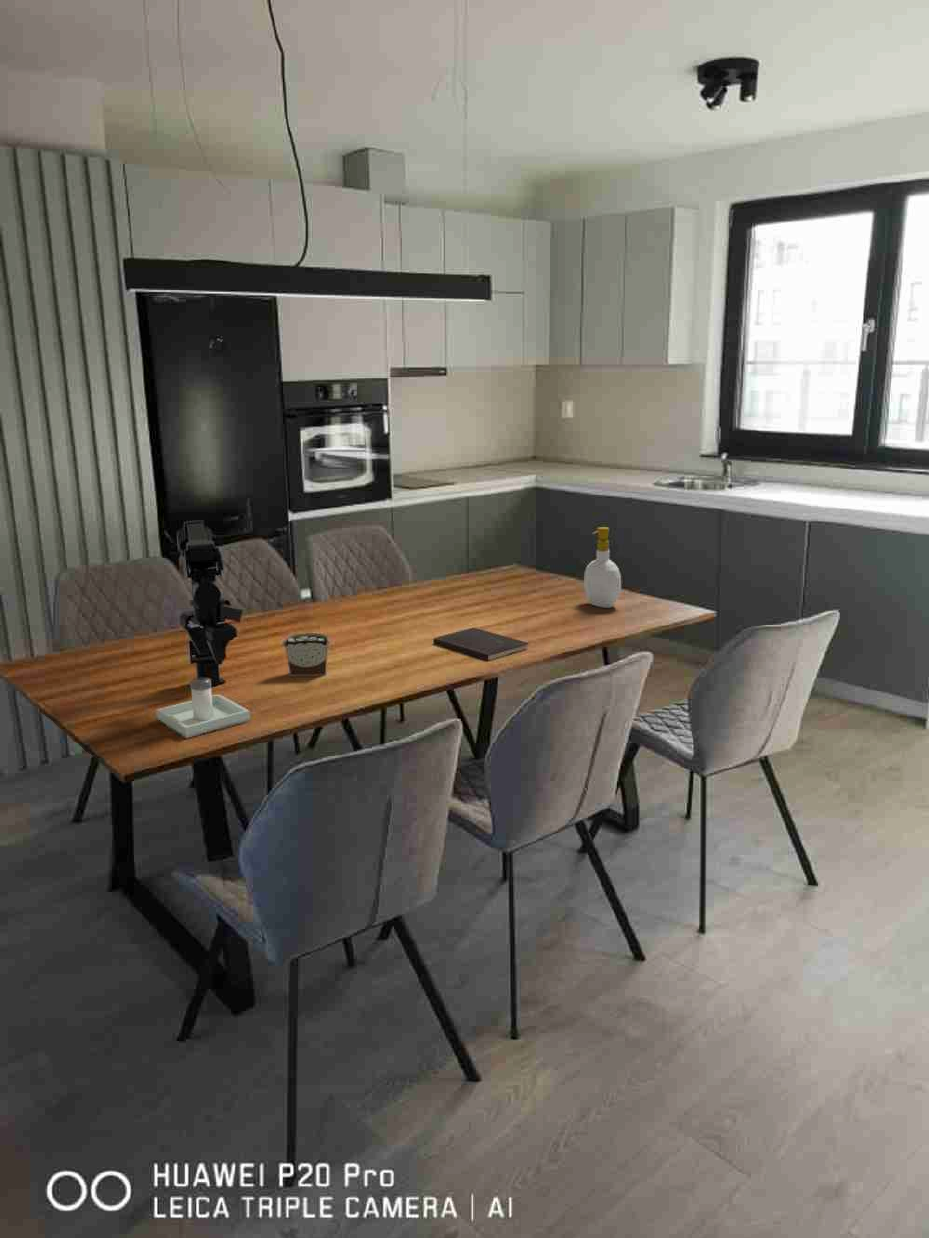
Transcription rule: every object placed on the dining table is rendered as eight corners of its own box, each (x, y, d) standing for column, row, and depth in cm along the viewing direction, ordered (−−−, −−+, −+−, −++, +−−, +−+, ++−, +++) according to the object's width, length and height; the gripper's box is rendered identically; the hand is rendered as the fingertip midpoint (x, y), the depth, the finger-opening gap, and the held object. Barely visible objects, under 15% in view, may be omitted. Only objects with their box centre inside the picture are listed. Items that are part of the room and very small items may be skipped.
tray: (157, 719, 224) (156, 709, 224) (219, 703, 234) (218, 693, 233) (186, 738, 213) (185, 727, 212) (250, 720, 222) (249, 710, 222)
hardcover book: (474, 634, 290) (473, 627, 289) (528, 650, 273) (528, 642, 273) (433, 645, 280) (433, 638, 279) (487, 663, 263) (487, 654, 262)
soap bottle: (575, 604, 321) (576, 526, 314) (594, 599, 326) (595, 523, 319) (608, 612, 310) (609, 532, 303) (626, 607, 315) (628, 528, 308)
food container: (333, 667, 260) (331, 631, 257) (331, 674, 254) (329, 638, 251) (287, 668, 260) (285, 633, 257) (284, 676, 254) (282, 639, 251)
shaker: (190, 717, 224) (186, 680, 221) (208, 712, 226) (205, 676, 224) (198, 722, 220) (195, 685, 218) (217, 717, 223) (214, 680, 221)
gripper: (255, 598, 223) (260, 662, 228) (219, 583, 237) (224, 643, 242) (210, 607, 217) (216, 672, 221) (176, 590, 231) (182, 652, 235)
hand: (210, 659), depth 230 cm, fingers open, 9 cm apart
